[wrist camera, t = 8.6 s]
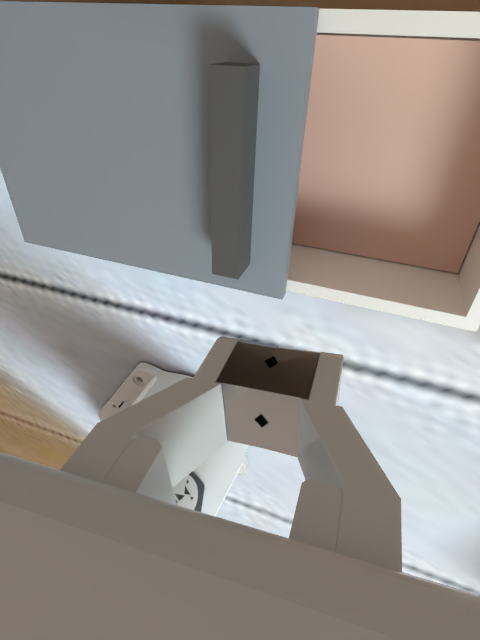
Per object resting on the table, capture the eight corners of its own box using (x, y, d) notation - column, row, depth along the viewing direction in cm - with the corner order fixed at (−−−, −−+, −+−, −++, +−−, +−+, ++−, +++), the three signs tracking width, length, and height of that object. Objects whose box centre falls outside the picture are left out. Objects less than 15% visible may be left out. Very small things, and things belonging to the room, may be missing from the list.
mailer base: (580, 20, 18) (636, 14, 13) (465, 280, 26) (476, 331, 22) (190, 11, 23) (134, 4, 19) (198, 230, 31) (161, 263, 27)
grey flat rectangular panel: (319, 8, 16) (304, 3, 14) (285, 292, 24) (273, 317, 22) (-42, 1, 21) (-93, -3, 19) (32, 237, 30) (3, 253, 27)
